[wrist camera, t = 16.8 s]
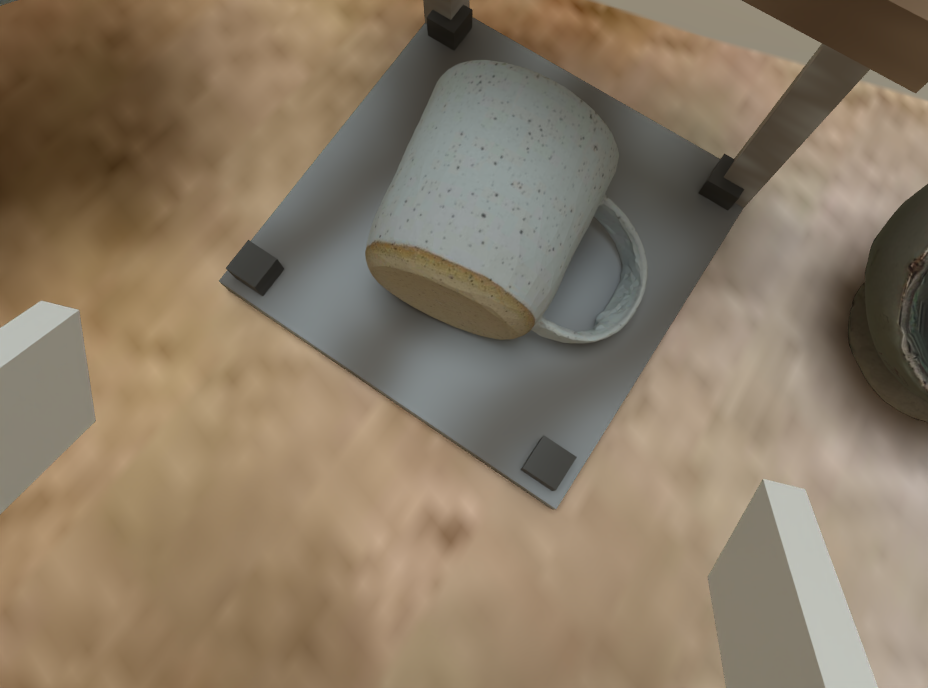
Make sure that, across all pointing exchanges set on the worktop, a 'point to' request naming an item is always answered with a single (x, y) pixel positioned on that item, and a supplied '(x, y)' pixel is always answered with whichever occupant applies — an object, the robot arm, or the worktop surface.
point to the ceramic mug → (502, 206)
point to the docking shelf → (593, 264)
